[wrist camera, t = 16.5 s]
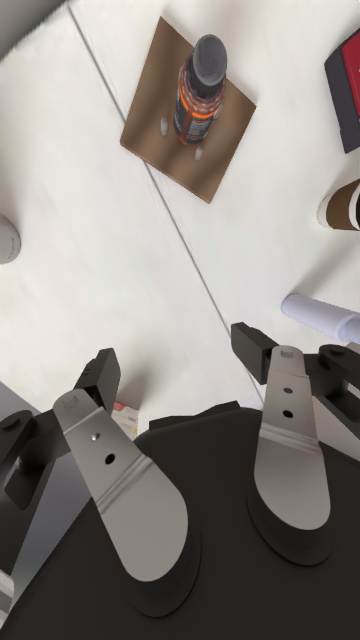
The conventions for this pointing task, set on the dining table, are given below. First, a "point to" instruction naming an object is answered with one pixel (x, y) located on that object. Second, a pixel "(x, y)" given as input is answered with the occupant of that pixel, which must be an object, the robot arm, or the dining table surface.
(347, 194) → the coffee cup
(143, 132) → the pin tray
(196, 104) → the supplement bottle
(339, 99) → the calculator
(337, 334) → the spray bottle
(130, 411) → the ink cartridge box
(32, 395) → the dining table surface
